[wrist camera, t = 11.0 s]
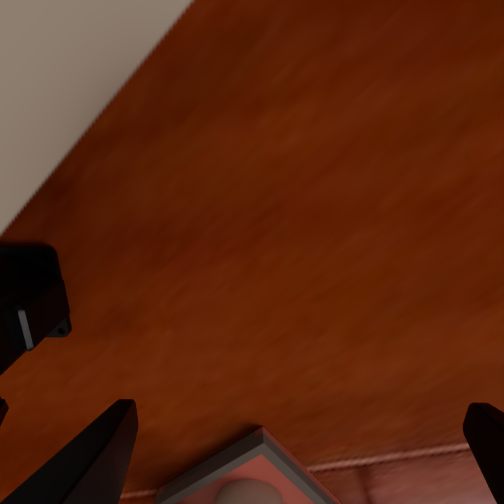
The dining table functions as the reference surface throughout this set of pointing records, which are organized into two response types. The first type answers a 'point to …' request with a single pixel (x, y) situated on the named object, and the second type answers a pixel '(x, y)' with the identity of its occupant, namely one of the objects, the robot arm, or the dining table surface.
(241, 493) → the sake flask
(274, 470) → the lacquer tray
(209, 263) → the dining table surface
